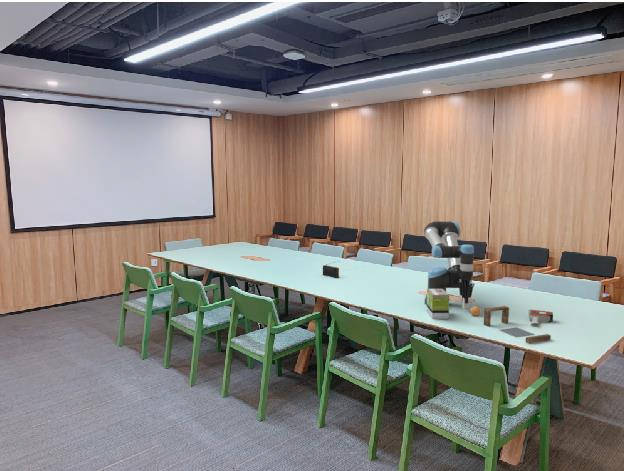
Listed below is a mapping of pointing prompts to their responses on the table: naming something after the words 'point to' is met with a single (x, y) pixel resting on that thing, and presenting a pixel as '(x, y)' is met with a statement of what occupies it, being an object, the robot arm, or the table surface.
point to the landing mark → (516, 332)
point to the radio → (331, 271)
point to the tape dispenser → (539, 317)
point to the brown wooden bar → (538, 338)
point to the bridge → (488, 310)
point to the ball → (475, 311)
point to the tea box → (438, 303)
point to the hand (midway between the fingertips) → (465, 308)
